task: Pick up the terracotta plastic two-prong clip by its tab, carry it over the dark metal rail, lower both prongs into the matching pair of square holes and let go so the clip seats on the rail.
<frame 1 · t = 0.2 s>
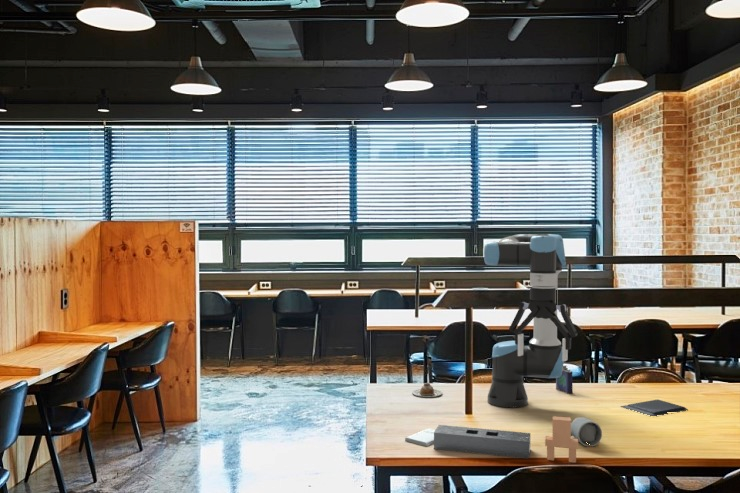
hand: (542, 358, 190), 28 cm above the table, fingers open, 13 cm apart
flask: (564, 391, 260), on the table
ceramic mug: (581, 443, 197), on the table
dark gray flat slab: (654, 410, 235), on the table
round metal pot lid: (427, 395, 255), on the table
rail: (482, 449, 191), on the table
external hard drive: (427, 440, 201), on the table
clip: (561, 459, 183), on the table
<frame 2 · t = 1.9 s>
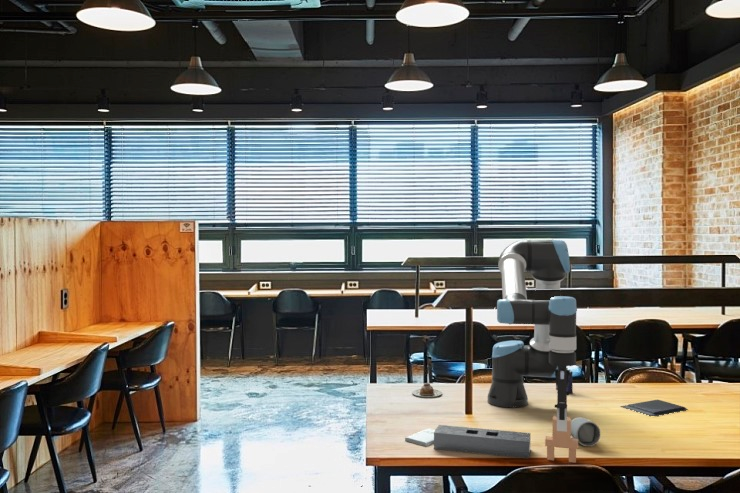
hand: (561, 424, 182), 10 cm above the table, fingers open, 13 cm apart
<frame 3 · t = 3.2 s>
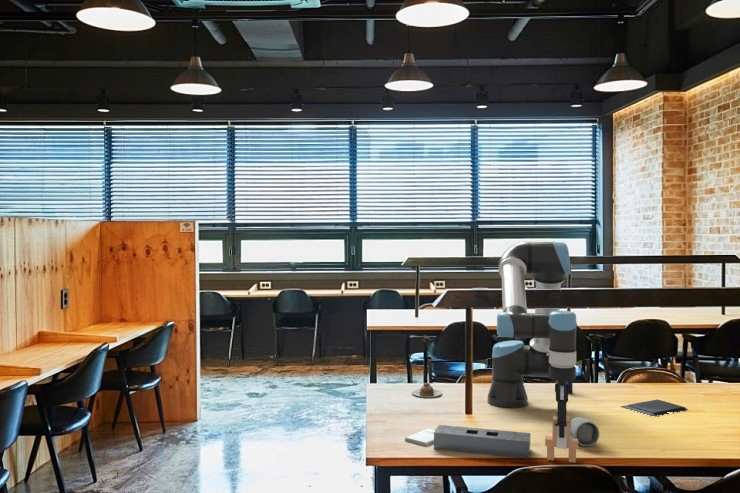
hand: (561, 445, 183), 4 cm above the table, fingers closed on clip, 3 cm apart
clip: (561, 459, 183), on the table, touching gripper
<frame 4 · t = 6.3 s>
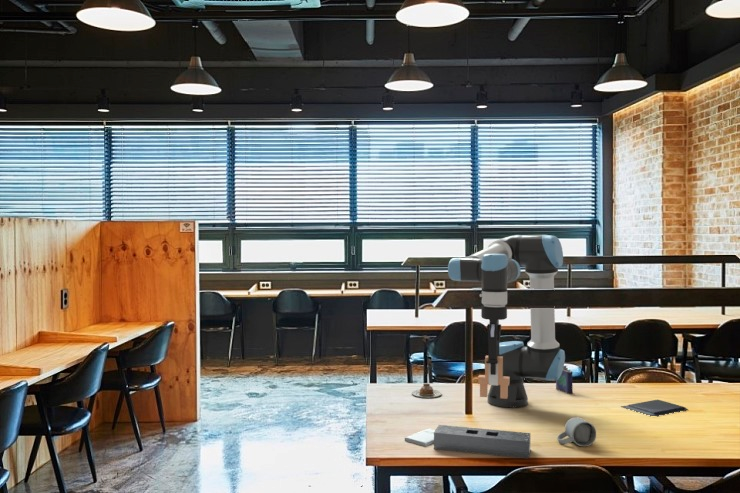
hand: (493, 383, 189), 20 cm above the table, fingers closed on clip, 3 cm apart
clip: (493, 396, 190), point 16 cm above the table, touching gripper
when the fingers open (7 cm above the table, at t = 9.2 s): clip drops 2 cm, resting on rail.
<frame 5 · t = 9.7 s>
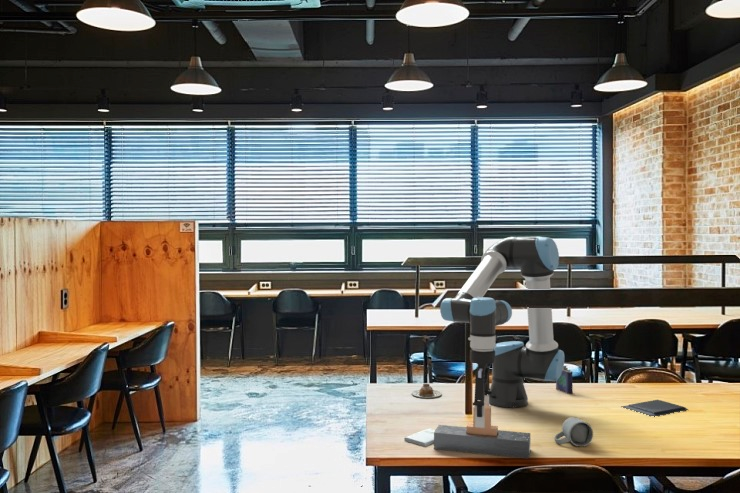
hand: (482, 421, 191), 8 cm above the table, fingers open, 11 cm apart
clip: (482, 445, 191), point 1 cm above the table, touching rail
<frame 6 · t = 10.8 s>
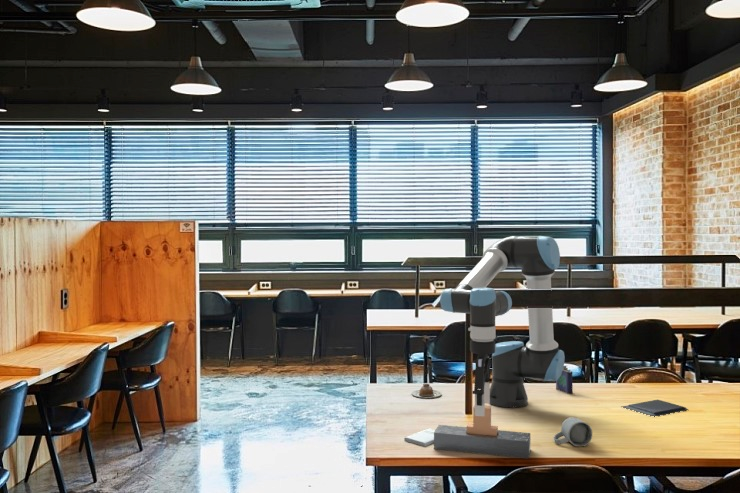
hand: (482, 409, 191), 12 cm above the table, fingers open, 13 cm apart
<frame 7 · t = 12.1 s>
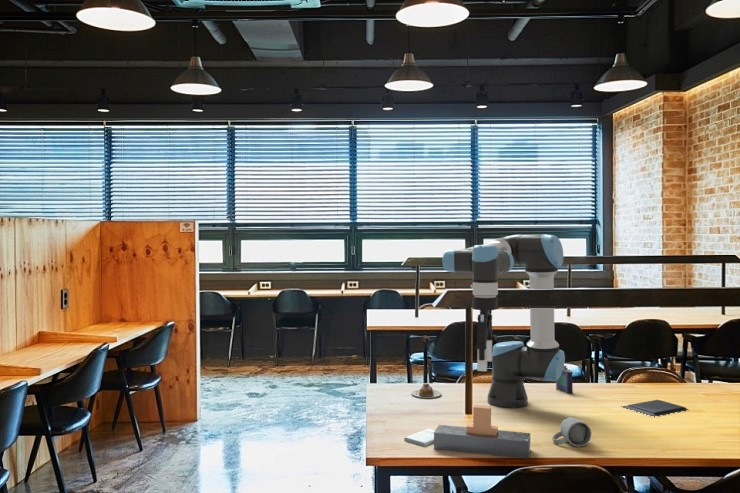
hand: (484, 365, 192), 25 cm above the table, fingers open, 13 cm apart
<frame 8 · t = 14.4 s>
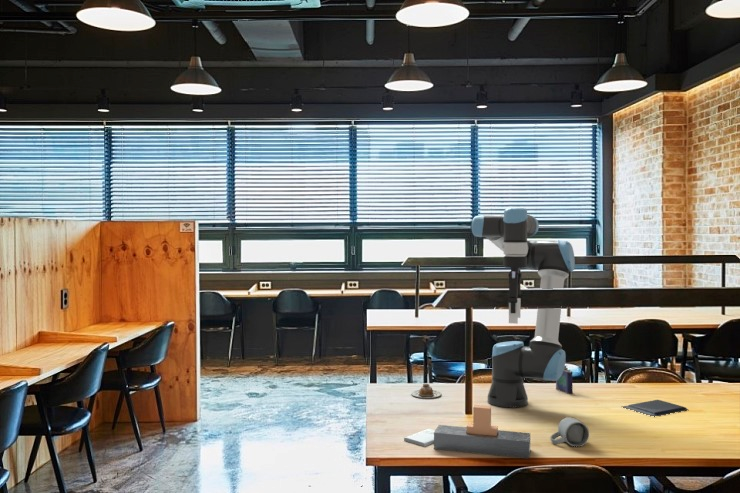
hand: (514, 320, 207), 37 cm above the table, fingers open, 13 cm apart
at the end: clip 0.1 cm off-centre on the rail, point 1.0 cm above the rail's base; clip tilted 0°; the gripper is holding nothing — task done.
